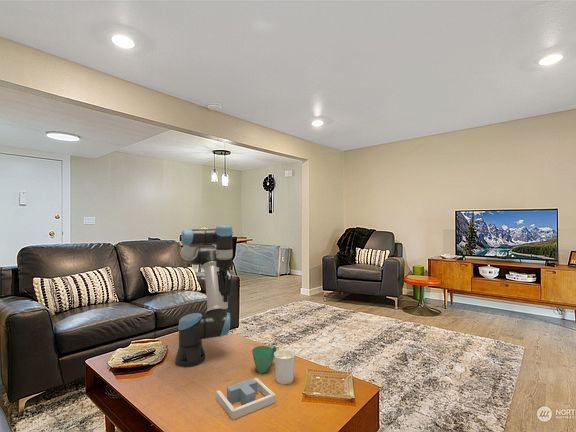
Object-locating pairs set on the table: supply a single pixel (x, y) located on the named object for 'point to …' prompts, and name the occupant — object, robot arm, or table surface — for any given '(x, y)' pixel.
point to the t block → (242, 391)
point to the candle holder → (284, 366)
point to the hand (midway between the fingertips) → (224, 308)
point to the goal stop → (248, 407)
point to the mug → (263, 357)
